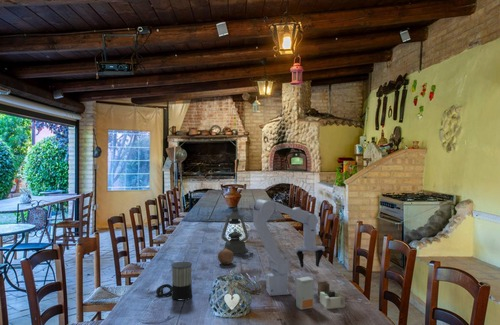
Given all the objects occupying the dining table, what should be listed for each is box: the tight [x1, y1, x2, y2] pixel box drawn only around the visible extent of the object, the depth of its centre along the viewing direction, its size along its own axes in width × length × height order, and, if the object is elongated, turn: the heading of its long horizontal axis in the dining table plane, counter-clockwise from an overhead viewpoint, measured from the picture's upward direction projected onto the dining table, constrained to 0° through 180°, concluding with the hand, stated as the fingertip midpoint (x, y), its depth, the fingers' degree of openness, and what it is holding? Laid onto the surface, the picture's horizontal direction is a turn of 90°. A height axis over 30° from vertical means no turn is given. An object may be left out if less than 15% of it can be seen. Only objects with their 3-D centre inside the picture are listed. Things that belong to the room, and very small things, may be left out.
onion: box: [217, 247, 235, 266], centre depth 224 cm, size 10×9×10 cm
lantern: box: [221, 207, 249, 255], centre depth 257 cm, size 18×20×30 cm
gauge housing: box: [319, 290, 346, 310], centre depth 162 cm, size 8×8×4 cm
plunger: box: [323, 290, 336, 298], centre depth 164 cm, size 7×4×4 cm, turn 10°
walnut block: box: [317, 281, 331, 298], centre depth 171 cm, size 4×4×6 cm
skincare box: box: [295, 276, 315, 310], centre depth 159 cm, size 6×4×12 cm
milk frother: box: [155, 261, 193, 301], centre depth 173 cm, size 14×16×15 cm
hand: (309, 266), depth 183 cm, fingers open, 7 cm apart
